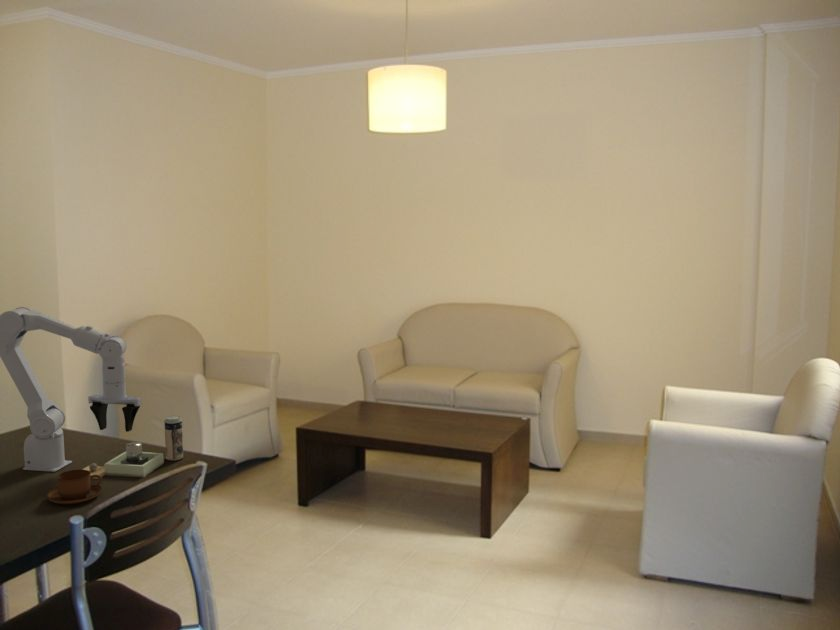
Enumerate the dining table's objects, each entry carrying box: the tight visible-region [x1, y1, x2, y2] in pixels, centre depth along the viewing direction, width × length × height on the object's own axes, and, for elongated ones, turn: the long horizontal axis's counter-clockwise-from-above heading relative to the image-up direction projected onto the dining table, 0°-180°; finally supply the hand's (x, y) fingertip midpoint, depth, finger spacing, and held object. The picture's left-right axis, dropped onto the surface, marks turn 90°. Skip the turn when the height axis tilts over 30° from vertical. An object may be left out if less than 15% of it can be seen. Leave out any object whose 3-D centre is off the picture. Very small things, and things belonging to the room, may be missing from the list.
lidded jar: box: [164, 415, 184, 462], centre depth 212 cm, size 5×5×12 cm
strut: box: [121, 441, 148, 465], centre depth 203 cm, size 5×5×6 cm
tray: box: [103, 451, 165, 478], centre depth 204 cm, size 11×11×3 cm
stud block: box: [81, 462, 106, 480], centre depth 200 cm, size 7×7×3 cm
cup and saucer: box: [46, 469, 103, 505], centre depth 183 cm, size 12×12×6 cm
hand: (116, 429), depth 207 cm, fingers open, 7 cm apart
